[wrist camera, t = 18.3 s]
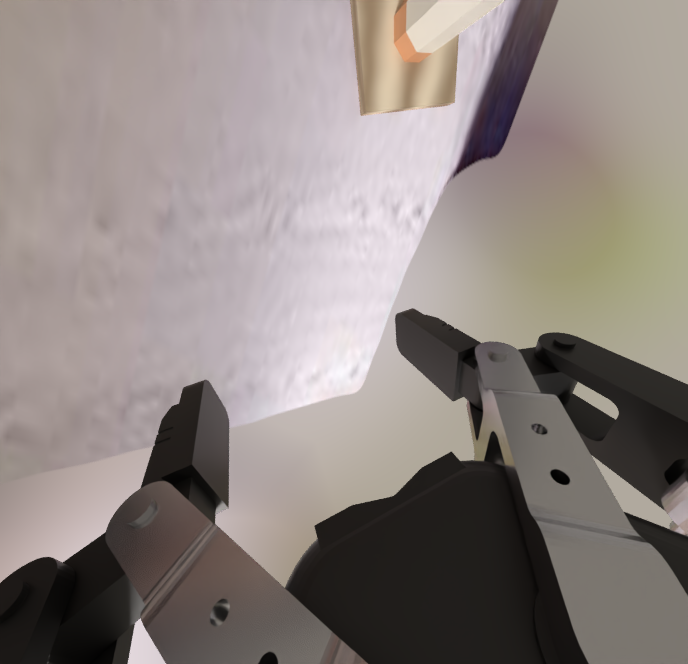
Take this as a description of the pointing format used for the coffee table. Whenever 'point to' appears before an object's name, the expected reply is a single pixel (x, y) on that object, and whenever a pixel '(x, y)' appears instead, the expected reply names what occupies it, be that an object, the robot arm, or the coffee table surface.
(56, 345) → the coffee table surface
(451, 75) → the pin board
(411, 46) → the sleeve
